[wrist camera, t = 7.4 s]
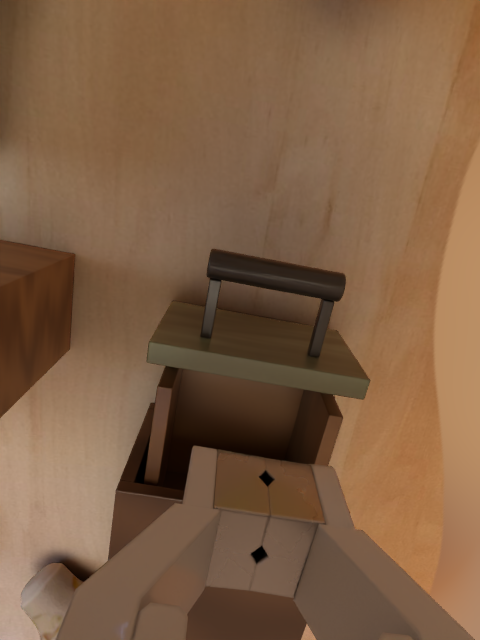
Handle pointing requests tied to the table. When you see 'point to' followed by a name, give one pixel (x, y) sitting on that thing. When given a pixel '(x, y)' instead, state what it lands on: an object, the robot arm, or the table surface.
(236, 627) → the cabinet
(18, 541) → the table surface
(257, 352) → the drawer
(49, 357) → the stand
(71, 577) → the mug
